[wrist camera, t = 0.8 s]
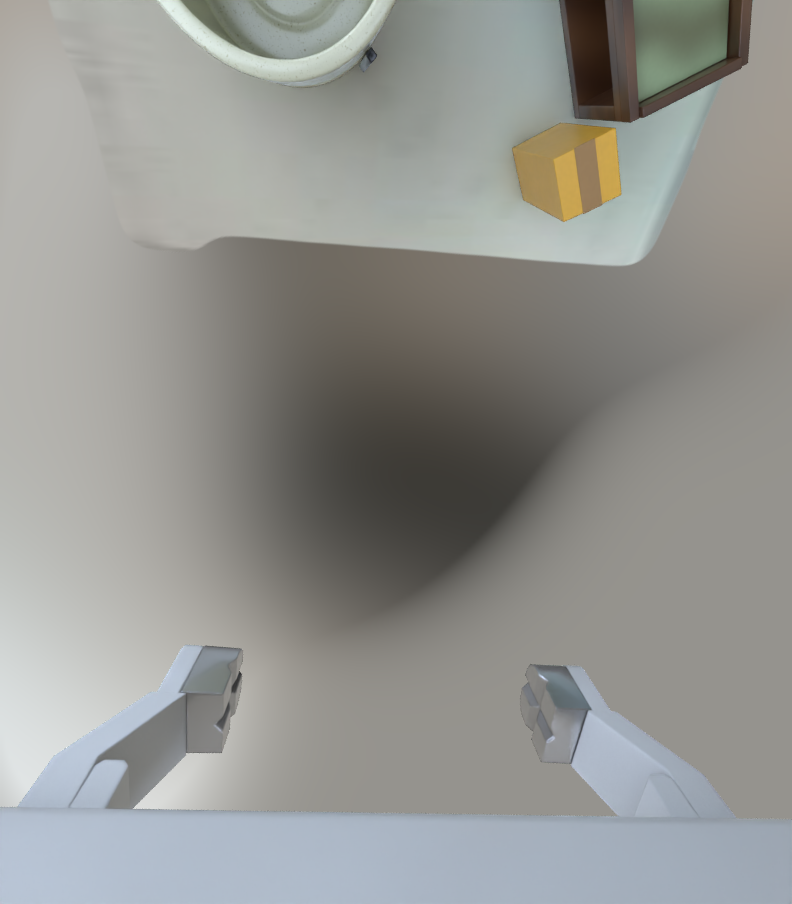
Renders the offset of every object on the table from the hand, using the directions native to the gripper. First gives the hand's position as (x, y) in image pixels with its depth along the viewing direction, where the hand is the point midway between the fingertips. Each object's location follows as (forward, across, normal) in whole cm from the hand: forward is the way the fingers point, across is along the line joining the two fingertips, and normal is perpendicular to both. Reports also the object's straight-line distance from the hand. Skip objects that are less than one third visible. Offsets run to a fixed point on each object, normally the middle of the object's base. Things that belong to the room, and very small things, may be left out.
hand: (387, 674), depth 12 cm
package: (+44, -16, -29) cm, 56 cm away
